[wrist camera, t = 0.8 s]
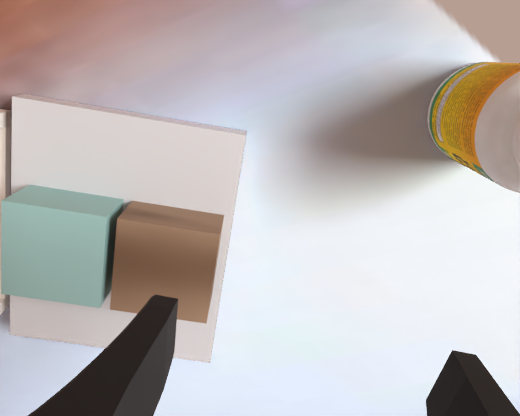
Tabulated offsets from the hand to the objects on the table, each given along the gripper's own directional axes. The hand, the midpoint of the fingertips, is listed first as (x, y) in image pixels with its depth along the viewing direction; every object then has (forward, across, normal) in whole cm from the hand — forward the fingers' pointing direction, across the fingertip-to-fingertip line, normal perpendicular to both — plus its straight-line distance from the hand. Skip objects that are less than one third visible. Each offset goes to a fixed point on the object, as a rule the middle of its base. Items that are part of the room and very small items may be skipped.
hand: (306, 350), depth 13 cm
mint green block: (+12, +12, +7) cm, 18 cm away
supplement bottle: (+17, -8, -2) cm, 19 cm away
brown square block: (+12, +6, +7) cm, 16 cm away
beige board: (+13, +10, +8) cm, 18 cm away
